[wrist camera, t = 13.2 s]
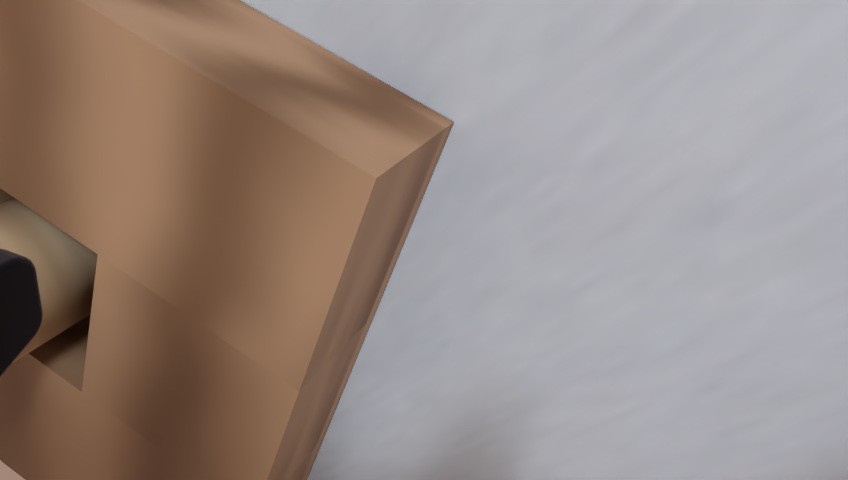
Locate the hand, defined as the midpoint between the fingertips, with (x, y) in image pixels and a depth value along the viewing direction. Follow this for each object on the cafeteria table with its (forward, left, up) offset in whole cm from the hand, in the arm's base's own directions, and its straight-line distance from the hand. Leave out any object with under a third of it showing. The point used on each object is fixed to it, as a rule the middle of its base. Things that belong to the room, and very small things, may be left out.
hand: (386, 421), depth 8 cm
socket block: (+14, +13, -12) cm, 22 cm away
